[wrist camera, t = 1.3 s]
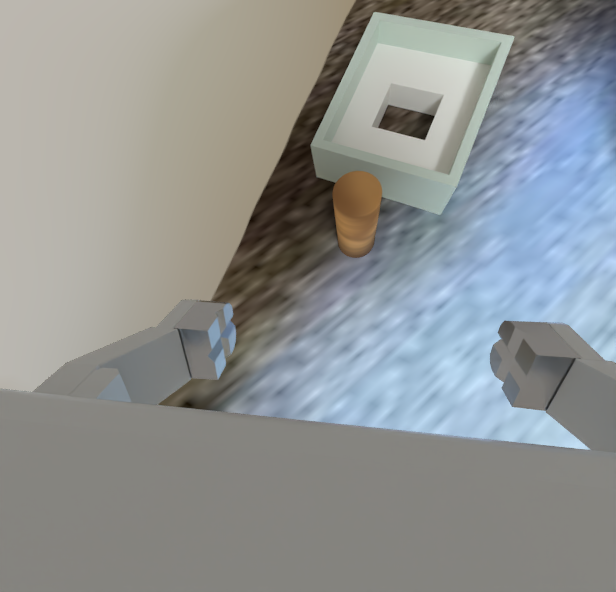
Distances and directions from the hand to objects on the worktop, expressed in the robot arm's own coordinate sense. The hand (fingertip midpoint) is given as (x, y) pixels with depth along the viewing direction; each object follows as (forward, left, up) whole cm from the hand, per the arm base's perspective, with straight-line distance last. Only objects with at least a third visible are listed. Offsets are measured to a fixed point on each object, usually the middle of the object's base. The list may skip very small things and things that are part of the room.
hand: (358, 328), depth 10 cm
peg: (-7, -11, -23) cm, 27 cm away
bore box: (-19, -19, -23) cm, 36 cm away
